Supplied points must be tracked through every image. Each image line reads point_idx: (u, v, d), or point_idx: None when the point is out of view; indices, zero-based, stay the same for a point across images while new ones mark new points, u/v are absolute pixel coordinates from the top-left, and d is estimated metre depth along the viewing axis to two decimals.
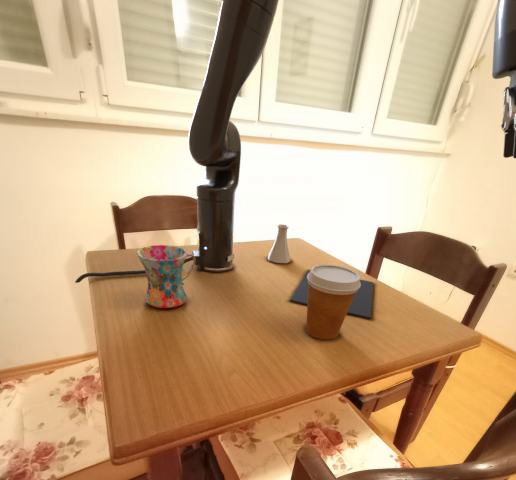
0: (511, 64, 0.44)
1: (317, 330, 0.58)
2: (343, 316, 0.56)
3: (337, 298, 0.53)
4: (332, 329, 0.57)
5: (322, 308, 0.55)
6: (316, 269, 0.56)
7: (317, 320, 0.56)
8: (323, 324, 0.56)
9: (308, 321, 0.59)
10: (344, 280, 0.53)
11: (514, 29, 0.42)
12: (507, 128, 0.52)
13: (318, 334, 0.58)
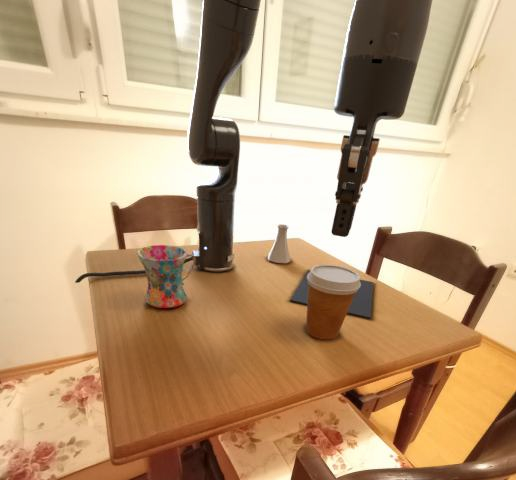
0: (347, 104, 0.32)
1: (317, 330, 0.58)
2: (343, 316, 0.56)
3: (337, 298, 0.53)
4: (332, 329, 0.57)
5: (322, 308, 0.55)
6: (316, 269, 0.56)
7: (317, 320, 0.56)
8: (323, 324, 0.56)
9: (308, 321, 0.59)
10: (344, 280, 0.53)
11: (358, 55, 0.30)
12: None
13: (318, 334, 0.58)
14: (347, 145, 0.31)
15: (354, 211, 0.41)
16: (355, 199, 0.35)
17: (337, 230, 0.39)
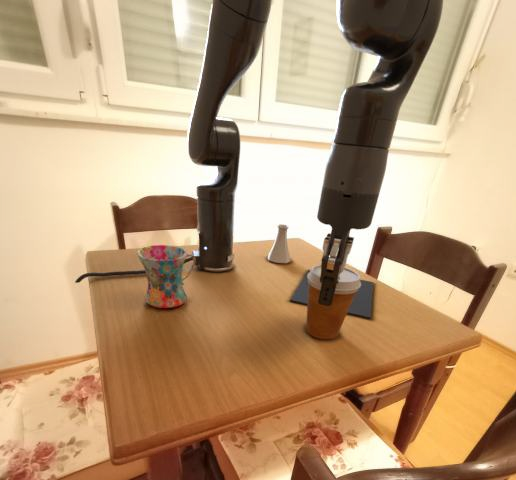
0: (326, 220, 0.42)
1: (317, 330, 0.58)
2: (343, 316, 0.56)
3: (337, 298, 0.53)
4: (332, 329, 0.57)
5: (322, 308, 0.55)
6: (316, 269, 0.56)
7: (317, 320, 0.56)
8: (323, 323, 0.56)
9: (308, 321, 0.59)
10: (345, 279, 0.53)
11: (333, 189, 0.39)
12: None
13: (318, 334, 0.58)
14: (325, 257, 0.41)
15: (334, 289, 0.49)
16: (334, 285, 0.46)
17: (322, 302, 0.50)
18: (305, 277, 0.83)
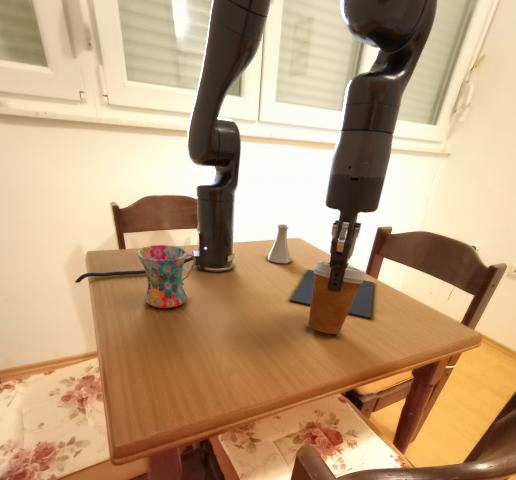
0: (335, 204, 0.43)
1: (322, 322, 0.57)
2: (347, 309, 0.57)
3: (344, 286, 0.54)
4: (337, 322, 0.57)
5: (329, 297, 0.55)
6: None
7: (323, 311, 0.56)
8: (328, 315, 0.56)
9: (312, 314, 0.59)
10: None
11: (341, 174, 0.41)
12: None
13: (322, 326, 0.58)
14: (334, 239, 0.43)
15: (343, 275, 0.51)
16: (344, 268, 0.47)
17: (332, 287, 0.51)
18: (305, 277, 0.83)
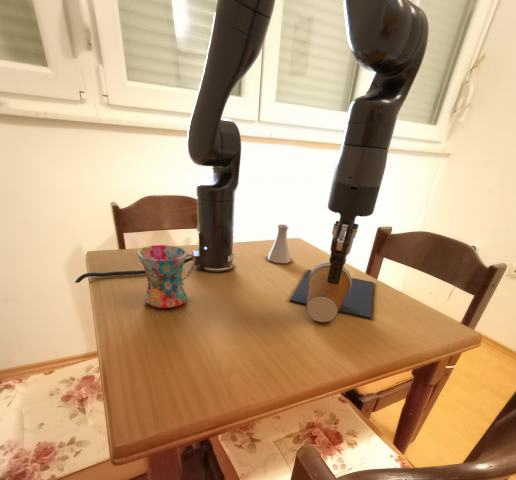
0: (336, 209, 0.50)
1: (316, 291, 0.61)
2: (339, 287, 0.63)
3: None
4: (330, 290, 0.61)
5: (320, 276, 0.64)
6: None
7: (316, 285, 0.63)
8: (321, 285, 0.62)
9: (308, 295, 0.64)
10: None
11: (342, 182, 0.48)
12: None
13: (317, 293, 0.61)
14: (335, 240, 0.49)
15: (341, 270, 0.57)
16: (342, 264, 0.54)
17: (331, 280, 0.58)
18: (305, 277, 0.83)
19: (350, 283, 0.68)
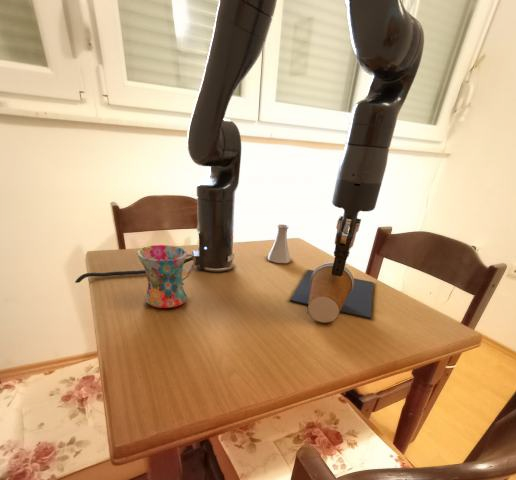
0: (340, 204, 0.53)
1: (320, 291, 0.61)
2: (342, 288, 0.63)
3: None
4: (334, 291, 0.61)
5: (324, 276, 0.64)
6: None
7: (320, 285, 0.63)
8: (325, 285, 0.62)
9: (311, 295, 0.63)
10: None
11: (346, 179, 0.51)
12: None
13: (320, 293, 0.61)
14: (339, 233, 0.53)
15: (345, 262, 0.61)
16: (346, 257, 0.57)
17: (335, 272, 0.61)
18: (305, 277, 0.83)
19: (352, 285, 0.68)
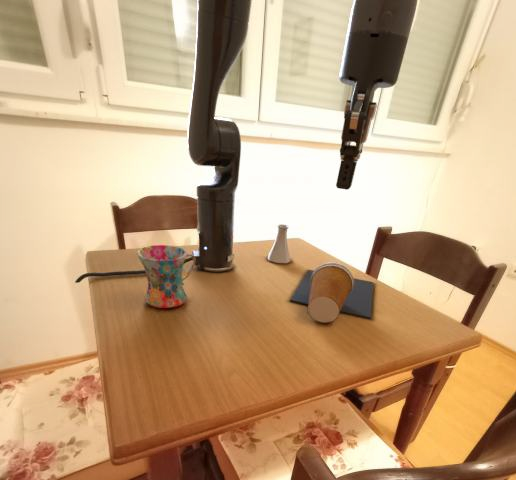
0: (350, 72, 0.39)
1: (320, 291, 0.61)
2: (342, 288, 0.63)
3: (335, 270, 0.65)
4: (334, 291, 0.61)
5: (324, 276, 0.64)
6: None
7: (320, 285, 0.63)
8: (325, 285, 0.62)
9: (311, 295, 0.63)
10: None
11: (359, 30, 0.37)
12: None
13: (320, 293, 0.61)
14: (348, 111, 0.39)
15: (354, 170, 0.47)
16: (356, 155, 0.43)
17: (341, 183, 0.47)
18: (305, 277, 0.83)
19: (352, 285, 0.68)
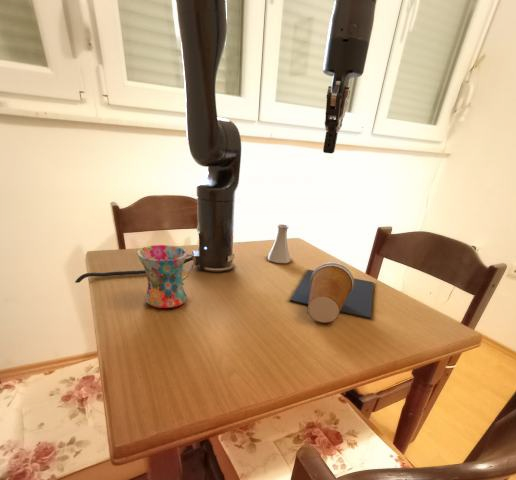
0: (330, 66, 0.56)
1: (320, 291, 0.61)
2: (342, 288, 0.63)
3: (335, 270, 0.65)
4: (334, 291, 0.61)
5: (324, 276, 0.64)
6: None
7: (320, 285, 0.63)
8: (325, 285, 0.62)
9: (310, 295, 0.63)
10: None
11: (335, 37, 0.54)
12: None
13: (320, 293, 0.61)
14: (329, 93, 0.56)
15: (336, 138, 0.64)
16: (336, 125, 0.60)
17: (326, 148, 0.64)
18: (305, 277, 0.83)
19: (352, 285, 0.68)
